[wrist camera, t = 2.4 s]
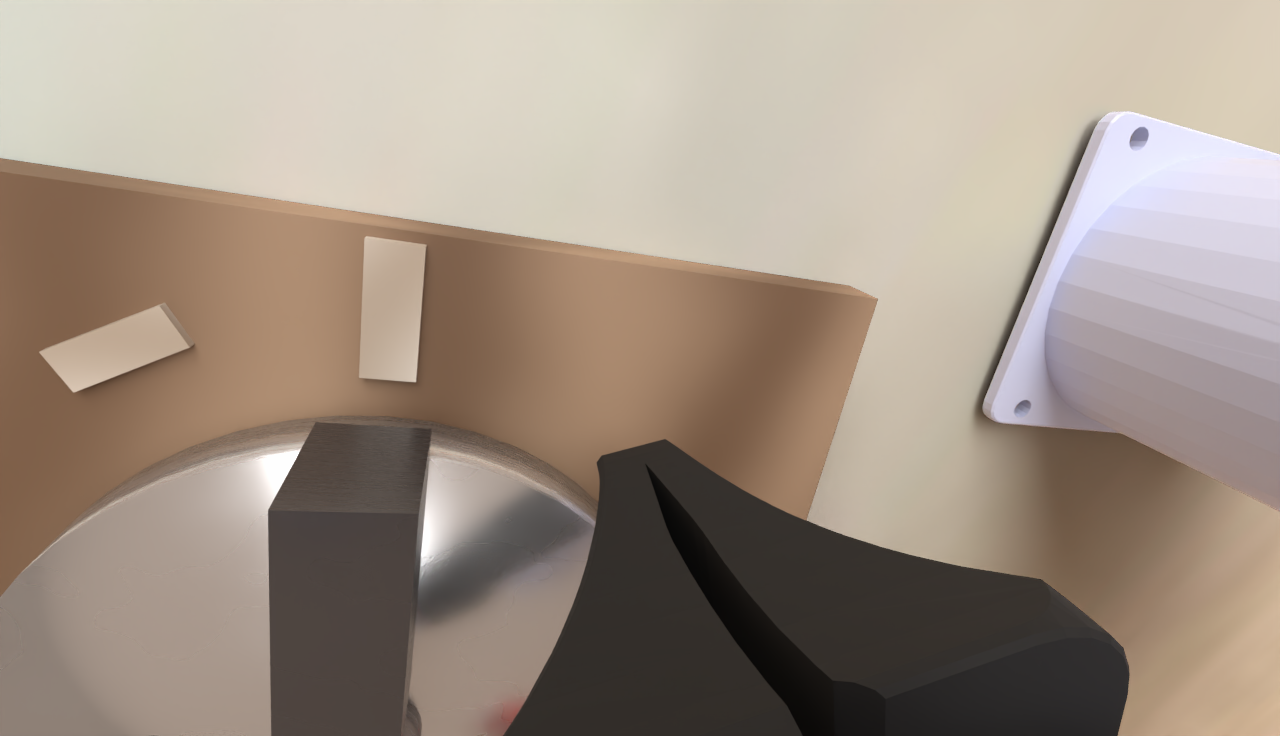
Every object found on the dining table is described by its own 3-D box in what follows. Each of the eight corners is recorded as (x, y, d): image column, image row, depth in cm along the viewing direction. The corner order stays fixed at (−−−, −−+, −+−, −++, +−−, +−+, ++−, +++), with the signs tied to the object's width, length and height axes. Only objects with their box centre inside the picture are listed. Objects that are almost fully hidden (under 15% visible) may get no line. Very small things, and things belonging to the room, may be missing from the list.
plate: (848, 285, 15) (883, 301, 13) (676, 846, 21) (689, 892, 20) (-318, 110, 9) (-447, 109, 8) (-62, 948, 16) (-110, 1021, 14)
